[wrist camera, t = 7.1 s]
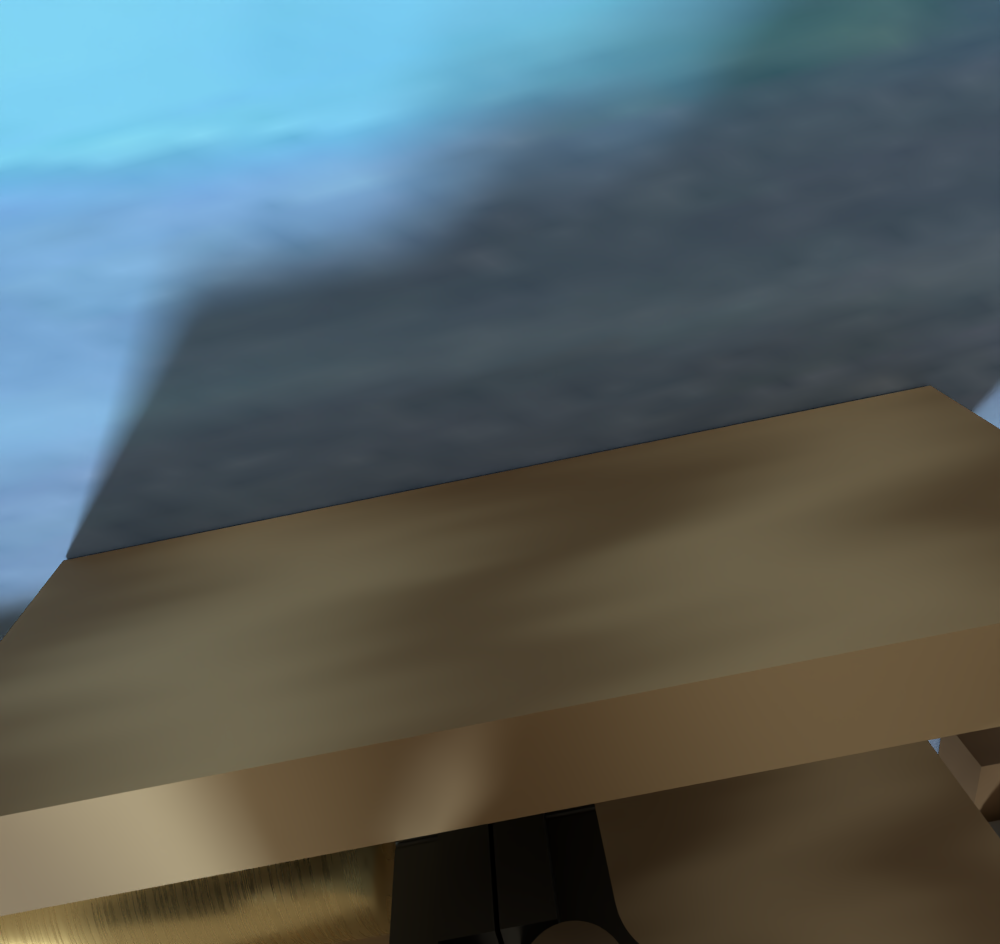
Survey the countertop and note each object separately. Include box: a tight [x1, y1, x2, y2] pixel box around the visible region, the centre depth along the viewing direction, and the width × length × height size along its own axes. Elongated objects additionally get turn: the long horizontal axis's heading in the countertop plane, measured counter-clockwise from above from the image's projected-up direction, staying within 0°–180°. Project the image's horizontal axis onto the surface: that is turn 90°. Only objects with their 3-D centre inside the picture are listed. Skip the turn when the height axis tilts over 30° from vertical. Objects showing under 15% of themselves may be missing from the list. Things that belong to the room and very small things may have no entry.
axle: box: [0, 841, 396, 944], centre depth 12 cm, size 12×4×4 cm, turn 99°
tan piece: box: [0, 386, 1000, 944], centre depth 11 cm, size 14×8×5 cm, turn 101°
